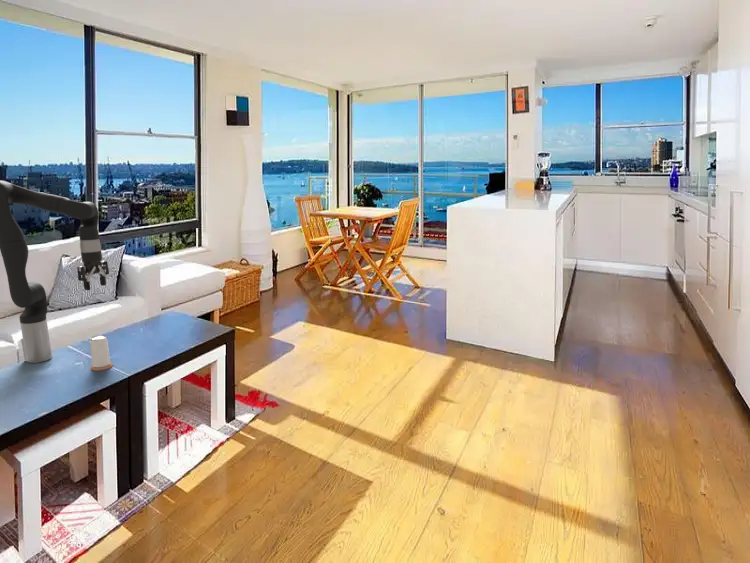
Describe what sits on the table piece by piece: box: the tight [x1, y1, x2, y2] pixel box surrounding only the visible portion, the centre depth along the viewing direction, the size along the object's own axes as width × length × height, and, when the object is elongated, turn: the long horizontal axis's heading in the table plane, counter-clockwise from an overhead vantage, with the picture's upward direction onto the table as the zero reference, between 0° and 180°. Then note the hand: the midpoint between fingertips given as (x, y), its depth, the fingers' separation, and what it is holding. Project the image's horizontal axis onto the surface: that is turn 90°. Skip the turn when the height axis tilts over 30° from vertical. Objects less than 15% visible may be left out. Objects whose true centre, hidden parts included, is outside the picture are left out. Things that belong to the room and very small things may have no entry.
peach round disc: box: [90, 361, 114, 372], centre depth 206 cm, size 8×8×1 cm
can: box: [89, 334, 111, 368], centre depth 204 cm, size 6×6×12 cm
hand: (95, 287), depth 213 cm, fingers open, 8 cm apart
